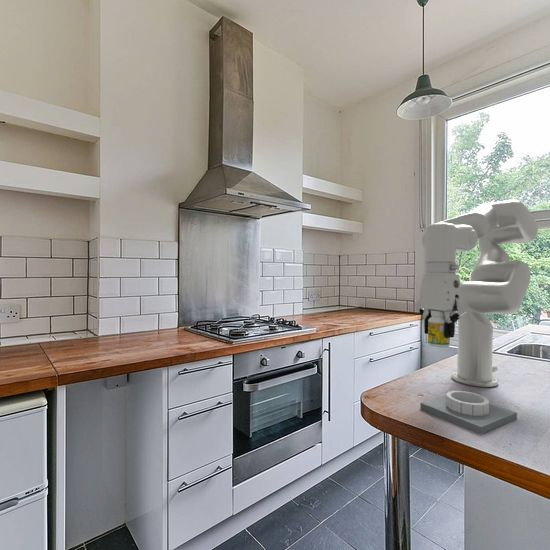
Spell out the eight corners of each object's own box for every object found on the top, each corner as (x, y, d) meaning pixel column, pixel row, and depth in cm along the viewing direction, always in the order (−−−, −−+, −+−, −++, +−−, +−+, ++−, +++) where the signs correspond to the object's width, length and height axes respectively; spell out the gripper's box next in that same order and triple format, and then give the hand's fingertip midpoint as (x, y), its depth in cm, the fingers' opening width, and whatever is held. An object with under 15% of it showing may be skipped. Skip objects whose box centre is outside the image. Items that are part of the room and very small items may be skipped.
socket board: (455, 397, 92) (456, 383, 92) (516, 418, 79) (517, 402, 79) (420, 408, 85) (420, 392, 85) (481, 434, 72) (481, 415, 72)
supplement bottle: (453, 347, 89) (454, 311, 89) (434, 347, 88) (435, 311, 88) (442, 343, 94) (442, 309, 94) (423, 343, 94) (424, 309, 94)
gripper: (479, 269, 85) (478, 340, 85) (422, 269, 100) (421, 329, 101) (461, 269, 82) (459, 342, 82) (405, 269, 97) (404, 331, 97)
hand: (438, 334), depth 91 cm, fingers closed on supplement bottle, 5 cm apart
